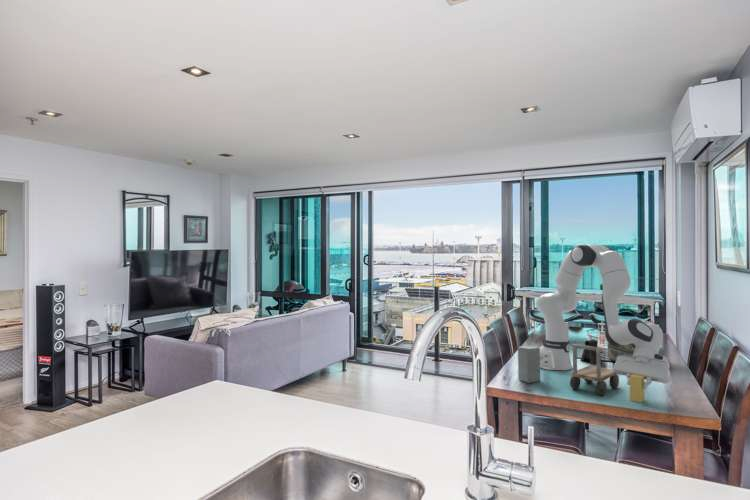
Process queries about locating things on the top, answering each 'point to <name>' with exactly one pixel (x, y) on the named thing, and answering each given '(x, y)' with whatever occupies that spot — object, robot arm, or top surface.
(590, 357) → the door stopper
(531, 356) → the gray hexagonal prism
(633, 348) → the lunch bag
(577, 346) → the trolley
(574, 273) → the robot arm
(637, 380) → the yellow rectangular block
